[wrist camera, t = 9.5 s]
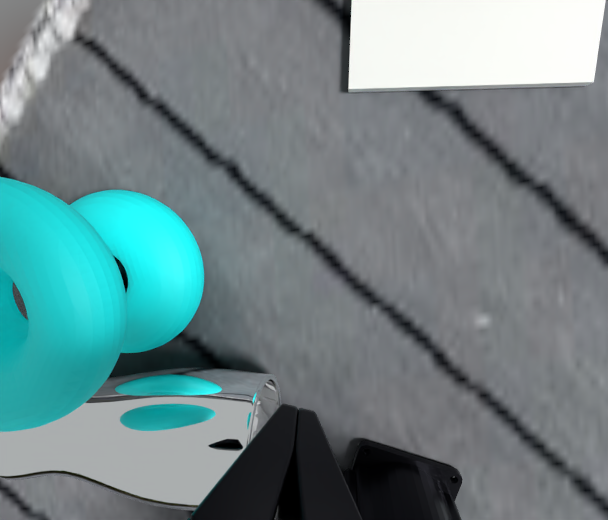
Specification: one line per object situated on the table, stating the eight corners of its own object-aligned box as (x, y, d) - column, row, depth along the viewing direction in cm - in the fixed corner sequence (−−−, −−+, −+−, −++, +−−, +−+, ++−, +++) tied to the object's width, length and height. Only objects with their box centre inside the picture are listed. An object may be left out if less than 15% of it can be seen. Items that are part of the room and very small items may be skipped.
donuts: (19, 129, 10) (125, 426, 11) (184, 172, 19) (231, 324, 20) (-210, 216, 11) (-98, 467, 12) (50, 215, 21) (100, 354, 22)
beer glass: (96, 417, 24) (286, 430, 22) (2, 518, 18) (258, 552, 15) (65, 340, 22) (275, 345, 19) (-56, 424, 15) (236, 447, 13)
